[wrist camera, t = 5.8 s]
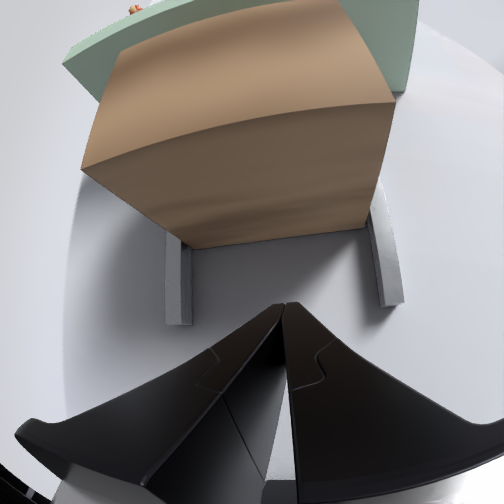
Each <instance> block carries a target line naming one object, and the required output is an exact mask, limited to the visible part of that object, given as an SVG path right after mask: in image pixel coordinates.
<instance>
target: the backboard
mask: <svg viewBox="0 0 504 504" xmlns="http://www.w3.org/2000/svg"><path fill="white" fill-rule="evenodd" d="M286 1H293V0H164V1H162V2H159V3H157V4H154V5H152V6H149V7H147V8H145V9H142V10H140V11H138V12H136V13H134V14H131V15H129V16H127V17H125V18H123V19H121V20H119V21H117V22H115V23H113V24H111V25H109V26H108V27H106V28H104V29H102V30H100V31H98V32H97V33H95V34H93V35H91V36H90V37H88V38H86V39H85V40H83V41H81V42H80V43H78V44H77V45H75V46H73V47H72V48H71V50H70V51H69V53H68V54H67V56H66V58H65V59H64V61H63V63H62V65H63V66H64V67H66V69H67V70H68V71H69V72H70V73H71V74H72V75H73V76H74V77H75V78H76V79H77V80H78V81H79V82H80V83H81V84H82V85H83V87H84V88H85V89H86V90H88V92H89V93H90V94H91V95H92V96H93V97H94V98H95V99H96V100H97V101H98V102H99V103H100V101H101V99H102V96H103V93H104V90H105V88H106V85H107V83H108V80H109V77H110V75H111V72H112V70H113V68H114V65H115V63H116V61H117V58H118V56H119V54H120V52H121V51H123V50H125V49H127V48H129V47H131V46H134V45H136V44H138V43H140V42H143V41H145V40H148V39H150V38H152V37H155V36H157V35H160V34H163V33H165V32H168V31H171V30H173V29H176V28H179V27H182V26H185V25H188V24H191V23H194V22H197V21H200V20H204V19H207V18H211V17H214V16H218V15H222V14H225V13H229V12H234V11H238V10H242V9H247V8H251V7H256V6H262V5H267V4H273V3H279V2H286ZM337 1H338V2H339V4H340V5H341V7H342V8H343V9H344V11H345V12H346V14H347V15H348V17H349V18H350V20H351V21H352V23H353V24H354V26H355V28H356V29H357V31H358V32H359V34H360V36H361V37H362V39H363V41H364V42H365V44H366V46H367V47H368V49H369V51H370V53H371V54H372V56H373V58H374V60H375V61H376V63H377V65H378V67H379V69H380V71H381V73H382V75H383V76H384V78H385V80H386V82H387V84H388V86H389V88H390V91H391V92H404V91H405V90H406V85H407V80H408V75H409V70H410V64H411V58H412V52H413V46H414V39H415V32H416V24H417V16H418V6H419V0H337Z"/></svg>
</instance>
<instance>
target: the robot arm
mask: <svg viewBox="0 0 504 504" xmlns="http://www.w3.org/2000/svg"><path fill="white" fill-rule="evenodd" d="M286 379H287V383H288V393H289V405H290V416H291V428H292V439H293V452H294V464H295V478H296V480H267V481H266V482H264V481H265V477H266V473H267V469H268V465H269V461H270V456H271V452H272V448H273V443H274V439H275V434H276V429H277V425H278V420H279V415H280V410H281V405H282V400H283V395H284V390H285V385H286ZM14 435H15V438H16V439H17V441H18V442H19V443H20V444H21V445H22V446H23V447H24V448H25V449H26V450H27V451H28V452H29V453H30V454H31V455H32V456H34V457H35V458H36V459H37V460H38V461H39V462H40V463H42V464H43V465H44V466H45V467H46V468H47V469H49V470H50V471H51V472H52V473H54V474H55V475H56V476H57V477H59V478H60V479H61V480H62V481H61V483H60V485H59V487H58V489H57V491H56V493H55V495H54V497H53V499H52V501H50V500H49V499H47V498H45V497H44V496H42V495H41V494H39V493H38V492H36V491H34V490H33V489H32V488H30V487H29V486H27V485H26V484H25V483H23V482H22V481H21V480H20V479H18V478H17V477H16V476H14V475H13V474H12V473H11V472H10V471H8V470H7V469H6V468H5V467H4V466H3V465H1V464H0V504H504V418H503V419H500V420H498V421H496V422H493V423H490V424H475V423H471V422H469V421H466V420H465V419H463V418H461V417H459V416H458V415H456V414H454V413H453V412H451V411H449V410H448V409H446V408H444V407H442V406H441V405H439V404H437V403H436V402H434V401H432V400H431V399H429V398H427V397H426V396H424V395H422V394H421V393H419V392H417V391H416V390H414V389H413V388H411V387H409V386H408V385H406V384H404V383H403V382H401V381H400V380H398V379H396V378H395V377H393V376H391V375H390V374H388V373H387V372H385V371H383V370H382V369H380V368H379V367H377V366H375V365H374V364H372V363H371V362H369V361H367V360H366V359H364V358H363V357H361V356H360V355H358V354H357V353H356V352H354V351H353V350H352V349H350V348H349V347H348V346H347V345H345V344H344V343H343V342H342V341H341V340H340V339H339V338H337V337H336V336H335V335H334V334H333V333H332V332H330V331H329V330H328V329H327V328H326V327H325V326H324V325H323V324H322V323H321V322H320V321H318V320H317V319H316V318H315V317H314V316H313V315H312V314H311V313H310V312H309V311H308V310H306V309H305V308H304V307H303V306H302V305H301V304H300V303H299V302H290V303H286V305H285V304H284V303H281V304H273V305H271V306H270V307H268V308H267V309H266V310H264V311H263V312H261V313H260V314H258V315H257V316H256V317H254V318H253V319H251V320H250V321H248V322H247V323H246V324H244V325H243V326H241V327H240V328H238V329H237V330H235V331H234V332H232V333H231V334H229V335H228V336H226V337H225V338H224V339H222V340H221V341H219V342H218V343H216V344H215V345H213V346H212V347H210V349H209V348H208V349H206V350H205V351H203V352H202V353H200V354H199V355H197V356H195V357H194V358H192V359H190V360H189V361H187V362H185V363H184V364H182V365H180V366H178V367H176V368H174V369H173V370H171V371H169V372H167V373H165V374H163V375H161V376H159V377H157V378H155V379H153V380H151V381H149V382H147V383H145V384H143V385H141V386H139V387H137V388H135V389H133V390H131V391H129V392H127V393H125V394H123V395H120V396H118V397H116V398H114V399H112V400H110V401H108V402H106V403H103V404H101V405H99V406H97V407H95V408H92V409H90V410H88V411H86V412H83V413H81V414H79V415H77V416H74V417H72V418H70V419H67V420H65V421H62V422H59V423H46V422H43V421H41V420H38V419H35V418H31V419H29V420H27V421H26V422H25V423H24V424H22V425H21V426H20V427H19V428H18V430H17V431H16V433H15V434H14Z"/></svg>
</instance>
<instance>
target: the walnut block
mask: <svg viewBox="0 0 504 504" xmlns="http://www.w3.org/2000/svg"><path fill="white" fill-rule="evenodd" d="M395 105H396V101H395V99H394V97H393V95H392V93H391V91H390V88H389V86H388V84H387V82H386V80H385V78H384V76H383V75H382V73H381V71H380V69H379V67H378V65H377V63H376V61H375V60H374V58H373V56H372V54H371V53H370V51H369V49H368V47H367V46H366V44H365V42H364V41H363V39H362V37H361V36H360V34H359V32H358V31H357V29H356V28H355V26H354V24H353V23H352V21H351V20H350V18H349V17H348V15H347V14H346V12H345V11H344V9H343V8H342V7H341V5H340V4H339V2H338V1H337V0H293V1H286V2H279V3H273V4H267V5H262V6H256V7H251V8H247V9H242V10H238V11H234V12H229V13H225V14H222V15H218V16H214V17H211V18H207V19H204V20H200V21H197V22H194V23H191V24H188V25H185V26H182V27H179V28H176V29H173V30H171V31H168V32H165V33H163V34H160V35H157V36H155V37H152V38H150V39H148V40H145V41H143V42H140V43H138V44H136V45H134V46H131V47H129V48H127V49H125V50H123V51H121V52H120V54H119V56H118V58H117V61H116V63H115V65H114V68H113V70H112V72H111V75H110V77H109V80H108V83H107V85H106V88H105V90H104V93H103V96H102V99H101V101H100V104H99V107H98V111H97V113H96V116H95V120H94V122H93V126H92V129H91V132H90V135H89V139H88V142H87V146H86V150H85V154H84V157H83V161H82V165H81V170H82V171H83V172H84V173H86V174H87V175H88V176H90V177H91V178H93V179H94V180H95V181H97V182H98V183H100V184H101V185H102V186H104V187H105V188H107V189H108V190H109V191H111V192H112V193H114V194H115V195H116V196H118V197H119V198H121V199H122V200H123V201H125V202H126V203H128V204H129V205H130V206H132V207H133V208H135V209H136V210H138V211H139V212H140V213H142V214H143V215H145V216H146V217H148V218H149V219H151V220H152V221H153V222H155V223H156V224H158V225H159V226H161V227H162V228H164V229H165V230H166V231H168V232H169V233H171V234H172V235H174V236H175V237H177V238H178V239H180V240H181V241H183V242H184V243H186V244H187V245H188V246H190V247H191V248H193V249H194V250H196V249H203V248H211V247H218V246H225V245H233V244H241V243H248V242H256V241H263V240H271V239H279V238H287V237H294V236H302V235H310V234H318V233H326V232H334V231H342V230H350V229H359V228H364V226H365V223H366V219H367V216H368V213H369V210H370V206H371V203H372V199H373V196H374V192H375V189H376V185H377V181H378V178H379V174H380V170H381V166H382V162H383V158H384V154H385V150H386V146H387V142H388V138H389V133H390V129H391V124H392V119H393V115H394V110H395Z"/></svg>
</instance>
